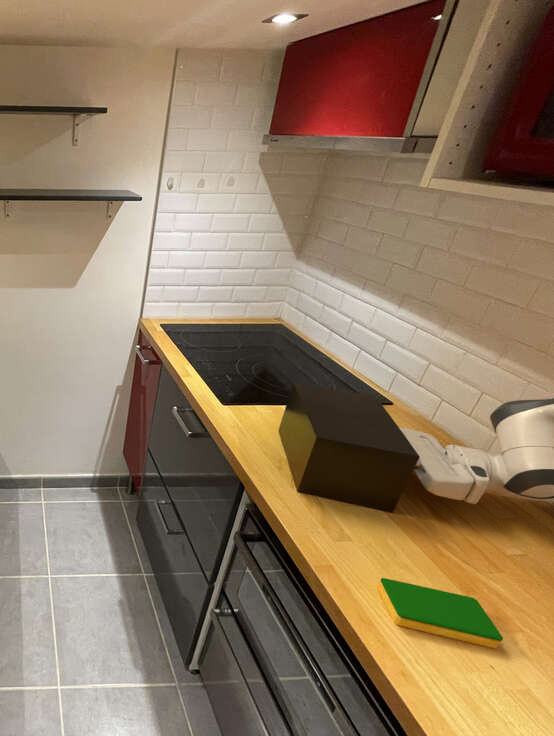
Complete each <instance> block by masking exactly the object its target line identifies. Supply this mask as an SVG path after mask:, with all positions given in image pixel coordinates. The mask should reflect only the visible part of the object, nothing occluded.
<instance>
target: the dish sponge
mask: <svg viewBox="0 0 554 736" xmlns="http://www.w3.org/2000/svg"><path fill="white" fill-rule="evenodd" d="M376 589H377V591H378V593H379V595H380V597H381V599H382V601H383V603H384V605H385V608H386V609H387V612H388V613H389V615H390V617H391V620H392V621H393V623H394V624H396V625H397V626H400V627H405V628H409V629H413V630H417V631H422V632H425V633H429V634H433V635H438V636H442V637H447V638H449V639H455V640H459V641H463V642H467V643H471V644H475V645H480V646H484V647H488V648H492V649H497V648H498V647H499V645H500V644H501V642H502V641H503V639H504V637H503V635H502V634H501V633H500V631H499V629H498V627H496V625H495V624H494V622H493V621H492V619H491V618H490V616H489V615H488V614H487V613H486V611H485V609H484V608H483V607H482V605H481V603H480V602H479V601H478V599H476V598H474V597H473V596H468V595H464V594H463V595H462V594H459V593H453V592H449V591H445V590H441V589H436V588H432V587H428V586H422V585H419V584H418V585H417V584H413V583H408V582H403V581H401V580H394V579H390V578H386V577H382V578H380V580H379V582H378V584H377V586H376Z"/></svg>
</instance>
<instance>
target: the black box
mask: <svg viewBox="0 0 554 736" xmlns="http://www.w3.org/2000/svg"><path fill="white" fill-rule="evenodd" d="M284 408H285V409H284V412H283V415H282V418H281V421H280V423H279V424H280V425H279V426H278V435H279V437H280V441H281V444H282V446H283V447H282V448H283V450H284V451H283V452H284V454H285V457H286V460H287V463H288V466H289V470H290V474H291V476H292V480H293V483H294V486H295V489H296V493H301V494H305V495H309V496H315V497H319V498H324V499H328V500H333V501H337V502H342V503H346V504H352V505H355V506H358V507H364V508H369V509H372V510H378V511H381V512H386V513H391V514H393V513H394V511H395V509H396V506H397V505H398V502H399V500H400V498H401V497H402V494H403V492H404V490H405V488H406V486H407V484H408V482H409V480H410V478H411V476H412V474H413V473H414V471H413V470H414V468H415V466H416V467H419V466H420V464H421V459H420V458H419V457H420V456H419V455H418V453H417V452H416V451H415V449H414V448H413V447H412V445H411V444H410V442H409V440H408V439H407V438H406V436H405V435H404V433H403V432H402V431H401V429H400V428H399V427H400V426H399V425H398V424H397V422H396V421H395V420H394V418H393V417H392V416H391V414H390V413H389V412H388V411H387V409H386V408H385V407H384V406H383V404H382V402H381V401H380V399H379V398H378V397H377V396H376V395H372V394H366V393H360V392H353V391H346V390H340V389H334V388H328V387H321V386H316V385H308V384H303V383H296V382H293V383H292V386H291V389H290V392H289V395H288V399H287V402H286V405H285V407H284Z"/></svg>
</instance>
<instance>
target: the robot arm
mask: <svg viewBox="0 0 554 736" xmlns="http://www.w3.org/2000/svg"><path fill="white" fill-rule="evenodd" d="M489 420H490V423H491V425H492V428H493V430H494V433H495V434H496V437H497V442H498V446H499V450H500V453H491V452H488V451H485V450H484V449H483V450H482V449H478V448H473V447H467V446H462V445H457V444H447V445H446V446H444V445H443V443H442V442H441V441H440V440H437V438H436V437H435V436H434V435H431V434H430V433H427V432H423V431H420V430H416V429H413V428H407V427H402V426H398V427H399V428H400V429H401V431H402V432H403V433H404V435H405V436H406V438H407V439H408V440H409V442H410V444H411V445H412V447H413V448H414V449H415V451H416V452H417V453H418V455H419V456H420V457H419V458H420V459H421V464H420V466H419V467H416V466H415V468H414V470H413V473H414V474H415V475H416V477H417V478H418V480H419V481H420V483H421V484H422V485H423V487H424V489H425V490H426V491H428V492H429V493H431V494H433V495H435V496H439V497H442V498H446V499H451V500H457V501H464V502H465V503H469V504H472V505H476V504H477V503H479V501H480V499H481V498H482V496H483V494H484V493H485V492H491V493H493V494H495V495H497V496H500V497H506V498H511V499H517V500H524V501H531V502H532V501H533V502H546V503H549V502H554V398H553V397H552V398H543V399H520V400H510V401H506V402H504V403H502V404H501V405H499V406H498V407H497V408H495V409H494V410H493V412H491V414H490V415H489Z"/></svg>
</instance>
